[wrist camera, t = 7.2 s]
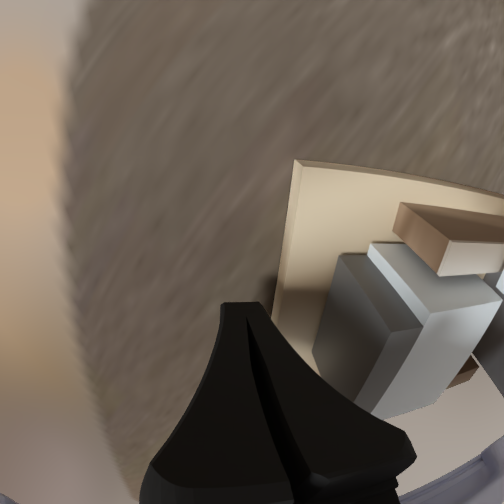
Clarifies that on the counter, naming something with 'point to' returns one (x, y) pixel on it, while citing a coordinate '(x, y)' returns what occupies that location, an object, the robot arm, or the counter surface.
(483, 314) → the light grey block
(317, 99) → the counter surface
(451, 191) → the stand
